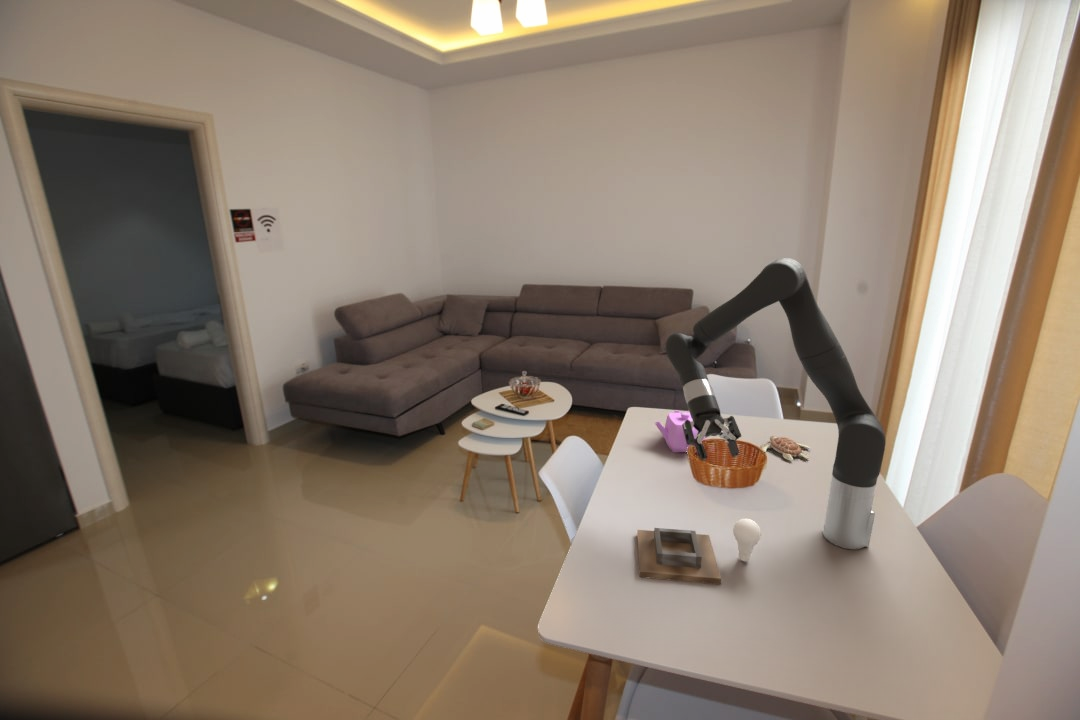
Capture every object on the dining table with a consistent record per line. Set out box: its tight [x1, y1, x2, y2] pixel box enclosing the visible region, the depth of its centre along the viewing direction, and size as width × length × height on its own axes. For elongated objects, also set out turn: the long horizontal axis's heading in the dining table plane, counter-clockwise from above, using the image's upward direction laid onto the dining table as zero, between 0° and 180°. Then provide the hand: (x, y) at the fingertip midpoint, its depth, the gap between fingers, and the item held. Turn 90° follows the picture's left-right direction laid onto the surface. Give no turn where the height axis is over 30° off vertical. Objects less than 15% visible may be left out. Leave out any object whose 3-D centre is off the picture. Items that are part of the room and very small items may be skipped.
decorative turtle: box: [759, 435, 811, 461], centre depth 170 cm, size 18×17×5 cm
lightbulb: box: [732, 518, 762, 562], centre depth 115 cm, size 6×6×11 cm
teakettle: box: [654, 409, 708, 454], centre depth 176 cm, size 17×17×12 cm
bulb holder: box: [636, 527, 722, 585], centre depth 117 cm, size 18×16×4 cm
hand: (720, 457), depth 122 cm, fingers open, 8 cm apart
